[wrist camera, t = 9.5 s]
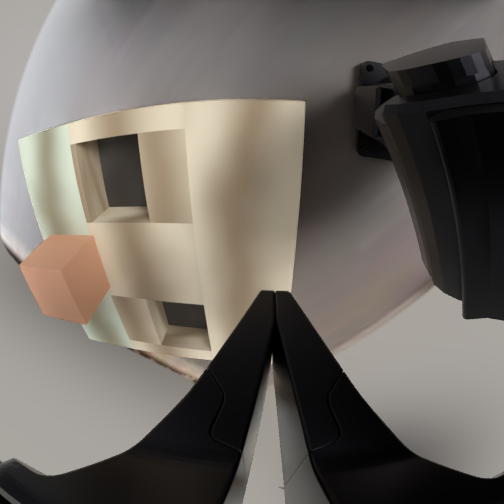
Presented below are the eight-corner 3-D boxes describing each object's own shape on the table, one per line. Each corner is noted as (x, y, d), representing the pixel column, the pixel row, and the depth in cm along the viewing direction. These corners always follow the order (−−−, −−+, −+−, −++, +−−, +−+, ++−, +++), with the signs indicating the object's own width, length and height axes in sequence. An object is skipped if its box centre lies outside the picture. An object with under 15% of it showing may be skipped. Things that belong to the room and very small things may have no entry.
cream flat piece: (300, 100, 15) (305, 102, 13) (281, 340, 27) (281, 364, 25) (41, 130, 17) (18, 140, 14) (100, 320, 29) (89, 339, 26)
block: (93, 235, 18) (60, 270, 15) (110, 287, 21) (86, 325, 17) (50, 234, 19) (19, 265, 15) (69, 281, 22) (44, 314, 18)
